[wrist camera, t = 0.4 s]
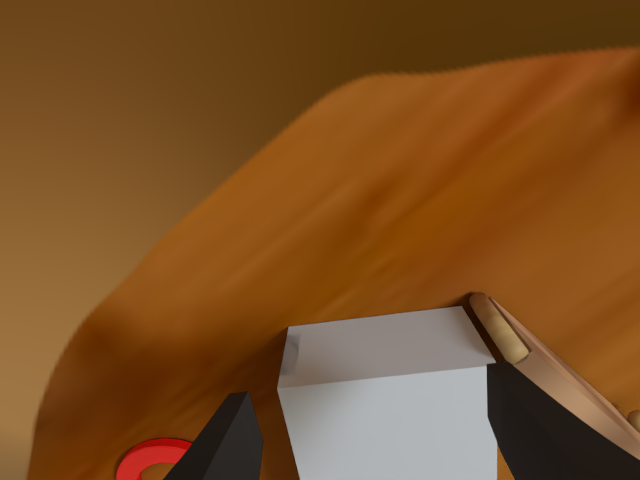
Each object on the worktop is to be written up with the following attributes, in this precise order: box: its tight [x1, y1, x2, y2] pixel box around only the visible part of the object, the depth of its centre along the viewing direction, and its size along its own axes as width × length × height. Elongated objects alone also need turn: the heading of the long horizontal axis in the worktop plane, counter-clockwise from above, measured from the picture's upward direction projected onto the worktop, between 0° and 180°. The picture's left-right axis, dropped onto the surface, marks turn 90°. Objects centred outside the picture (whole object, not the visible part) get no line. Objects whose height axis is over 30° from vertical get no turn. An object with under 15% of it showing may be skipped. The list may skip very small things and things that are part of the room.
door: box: [469, 292, 640, 460], centre depth 20 cm, size 15×2×5 cm, turn 49°
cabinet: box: [277, 306, 497, 480], centre depth 22 cm, size 15×10×5 cm, turn 9°
